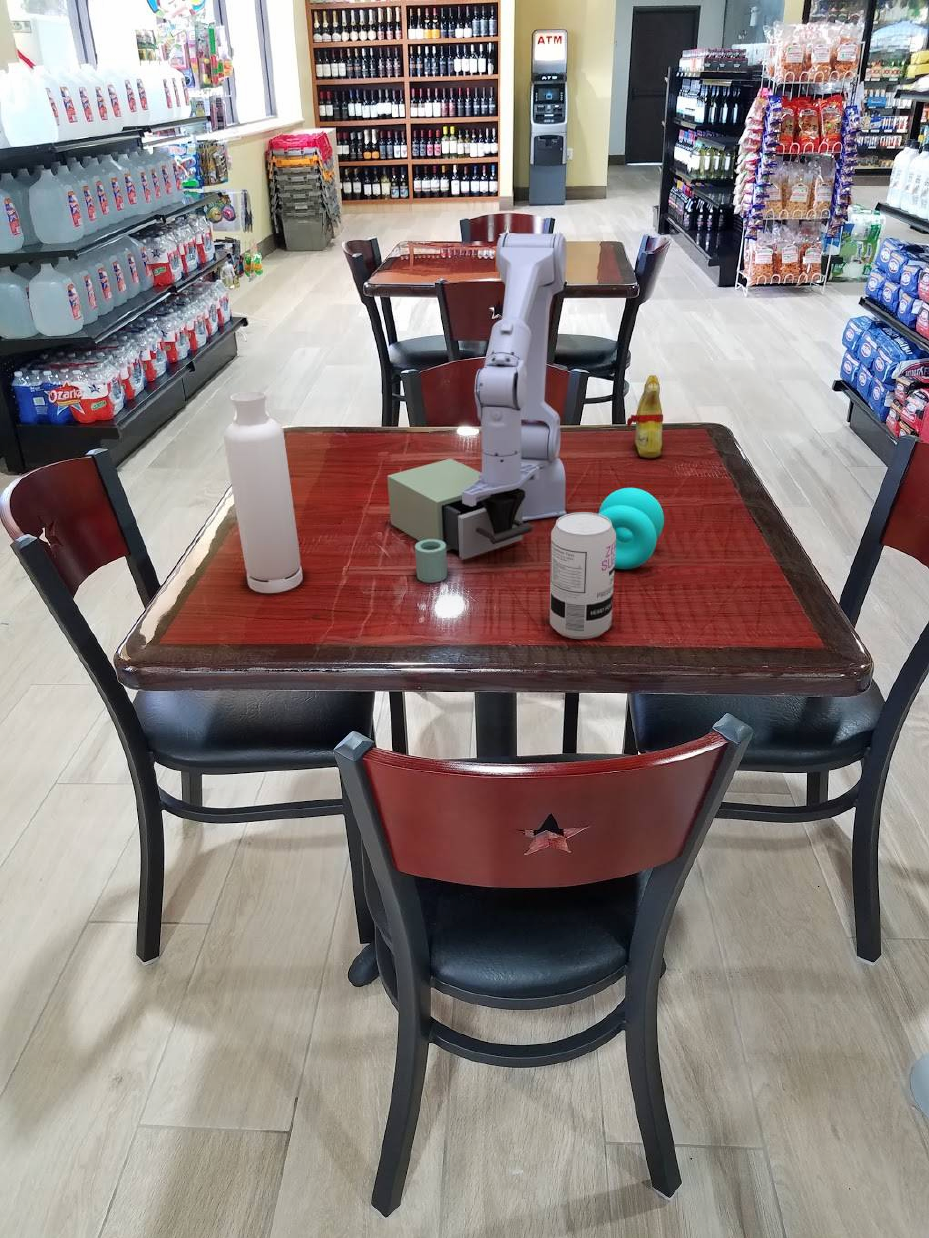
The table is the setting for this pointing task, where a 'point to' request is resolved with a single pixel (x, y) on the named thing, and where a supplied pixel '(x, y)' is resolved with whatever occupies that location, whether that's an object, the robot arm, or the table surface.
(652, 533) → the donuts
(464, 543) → the drawer
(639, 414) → the chocolate bunny
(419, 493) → the green drawer cabinet
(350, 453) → the table surface
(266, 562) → the bottle
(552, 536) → the supplement can
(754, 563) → the table surface
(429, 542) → the jar
